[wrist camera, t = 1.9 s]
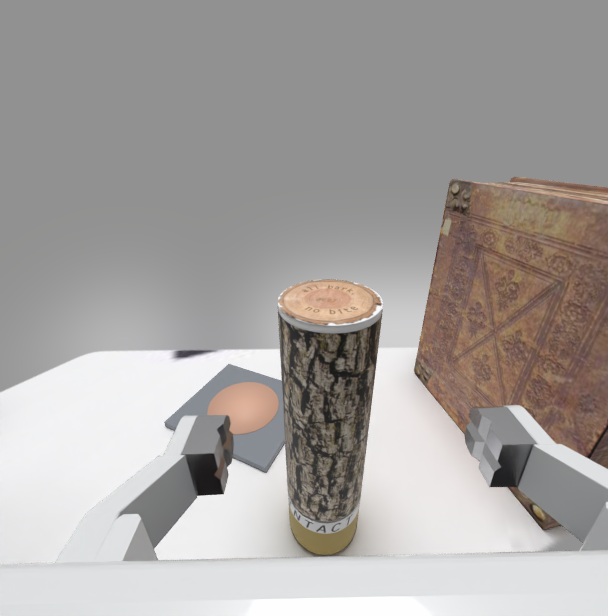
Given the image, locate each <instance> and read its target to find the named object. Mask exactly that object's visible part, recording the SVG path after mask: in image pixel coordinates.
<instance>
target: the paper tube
mask: <svg viewBox="0 0 608 616" xmlns="http://www.w3.org/2000/svg"><path fill="white" fill-rule="evenodd" d="M278 304H279V305H278V318H279V336H280V356H281V374H282V392H283V410H284V429H285V447H286V465H287V483H288V500H289V515H290V525H291V528H292V531H293V534H294V536H295V538H296V539H297V541H298V542H299V543H300V544H301V545H302V546H303V547H304V548H306V549H307V550H309V551H311V552H313V553H316V554H320V555H329V554H334V553H337V552H339V551H341V550H342V549H344V548H345V547H346V546H347V545H348V544H349V543H350V541H351V540H352V538H353V536H354V534H355V531H356V527H357V519H358V510H359V504H360V496H361V488H362V479H363V471H364V462H365V454H366V445H367V437H368V429H369V420H370V412H371V403H372V395H373V386H374V378H375V370H376V361H377V353H378V344H379V335H380V328H381V319H382V305H383V301H382V299H381V297H380V296H379V295H378V294H377V293H376V292H375V291H373V290H372V289H370V288H368V287H366V286H364V285H361V284H357V283H354V282H349V281H343V280H330V279H327V280H312V281H307V282H302V283H299V284H296V285H293V286H291V287H289V288H287V289H286V290H285V291H283V292H282V293H281V295H280V296H279V298H278Z"/></svg>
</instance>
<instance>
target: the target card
mask: <svg viewBox="0 0 608 616" xmlns="http://www.w3.org/2000/svg"><path fill="white" fill-rule="evenodd" d="M199 415H228V416H229V418H230V422H231V425H230V428H229V431H231V432H232V433H233V438H234V451H233V458H235V459H238V460H240V461H242V462H244V463H246V464H248V465H251V466H253V467H255V468H257V469H259V470H261V471H264V472H267V470H268V469H269V467H270V466H271V464H272V463H273V461H274V459H275V458H276V456H277V455H278V453H279V451H280V450H281V448H282V447H283V445H284V443H285V429H284V410H283V392H282V381H280V380H277V379H274V378H271V377H268V376H265V375H262V374H259V373H255V372H252V371H249V370H246V369H243V368H240V367H237V366H234V365H230V364H228V365H227V366H226V367H225V368H224V369H223V370H222V371H220V372H219V373H218V374H217V375H216V376H215V377H214V378H213V379H212V380H211V381H209V382H208V383H207V384H206V385H205V386H204V387H203V388H202V389H201V390H199V391H198V392H197V393H196V394H195V395H194V396H193V397H192V398H191V399H190V400H188V401H187V402H186V403H185V404H184V405H183V406H182V407H181V408H180V409H179V410H177V411H176V412H175V413H174V414H173V415H172V416H171V417H170V418H169V419H167V420H166V421H165V422H164V423H165V426H166V427H168V428H170V429H172V430H174V431H175V430H176V428H177V426H178V424H179V421H180V419H181V418H182V417H183V416H199Z"/></svg>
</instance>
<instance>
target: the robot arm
mask: <svg viewBox="0 0 608 616" xmlns="http://www.w3.org/2000/svg"><path fill="white" fill-rule="evenodd" d="M469 418H470V419H471V422H470V423H469V424H468V425H467V426H466V429H465V441H466V445H467V448H468V450H469V452H470V454H471V455H472V456H473V457H474V458H476V459H477V460H478V461H480V464H479V470H480V471H481V473H482V475H483V476H484V478H485V480H486V482H487V483H488V485H489V487H518V489H519V490H520V491H521V492H522V493H524V494H525V495H526V496H527V497H528V498H530V499H531V500H532V501H533V502H534V503H536V504H537V505H538V506H539V507H540V508H542V509H543V510H544V511H545V512H546V513H548V514H549V515H550V516H551V517H552V518H554V519H555V520H556V521H557V522H558V523H560V524H561V525H562V526H563V527H564V528H566V529H567V530H568V531H569V532H570V533H572V534H573V535H574V536H575V537H576V538H578V539H579V540H580V541H581V542H582V543H583V544H582V546H581V548H580V550H579V551H538V552H496V553H454V554H413V555H370V556H326V557H282V558H239V559H195V560H158V558H157V556H156V553H155V551H154V548H155V547H156V546H157V545H158V543H159V542H160V541H161V540H162V539H163V537H164V536H165V535H166V534H167V533H168V531H169V530H170V529H171V528H172V527H173V525H174V524H175V523H176V522H177V521H178V519H179V518H180V517H181V516H182V515H183V514H184V512H185V511H186V510H187V509H188V508H189V506H190V505H191V504H192V503H193V502H194V500H195V499H196V498H197V496H201V495H218V494H224V491H225V487H226V483H227V479H228V470H227V467H228V466H229V465H230V464H231V462H232V458H233V451H234V438H233V433H232V432H231V431H229V428H230V425H231V422H230V418H229V416H228V415H199V416H183V417H182V418H181V419H180V421H179V424H178V426H177V428H176V430H175V432H174V434H173V436H172V438H171V440H170V442H169V444H168V446H167V448H166V450H165V453H164V455H163V456H158V457H156V458H155V459H154V460H153V461H151V462H150V463H149V464H148V465H146V466H145V467H144V468H143V469H141V470H140V471H139V472H137V473H136V474H135V475H134V476H132V477H131V478H130V479H129V480H127V481H126V482H125V483H124V484H122V485H121V486H120V487H119V488H117V489H116V490H115V491H113V492H112V493H111V494H110V495H108V496H107V497H106V498H105V499H103V500H102V501H101V502H100V503H98V504H97V505H96V506H95V507H93V508H92V509H91V510H90V511H88V512H87V513H86V514H85V515H84V517H83V518H82V520H81V522H80V523H79V525H78V526H77V528H76V530H75V531H74V533H73V534H72V536H71V538H70V539H69V541H68V543H67V544H66V546H65V547H64V549H63V551H62V552H61V554H60V555H59V557H58V559H57V560H56V562H55V563H19V564H0V616H608V469H606V468H605V467H603V466H601V465H599V464H597V463H595V462H594V461H592V460H590V459H588V458H586V457H584V456H583V455H581V454H579V453H577V452H575V451H573V450H571V449H570V448H568V447H566V446H564V445H562V444H556V443H555V442H554V441H553V440H552V439H551V438H550V436H549V435H548V434H547V433H546V432H545V431H544V430H543V429H542V428H541V426H540V425H539V424H538V423H537V422H536V421H535V420H534V419H533V417H532V416H531V415H530V414H529V413H528V412H527V411H526V410H525V409H524V408H523V407H522V406H520V405H508V406H487V407H472V408H471V410H470V412H469Z"/></svg>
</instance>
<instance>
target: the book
mask: <svg viewBox="0 0 608 616" xmlns="http://www.w3.org/2000/svg"><path fill="white" fill-rule="evenodd" d="M414 372H415V374H416V376H417V377H418V378H419V379H420V380H421V382H422V383H423V384H424V385H425V387H426V388H427V389H428V390H429V391H430V393H431V394H432V395H433V396H434V397H435V399H436V400H437V401H438V402H439V404H440V405H441V406H442V407H443V408H444V410H445V411H446V412H447V413H448V415H449V416H450V417H451V418H452V419H453V421H454V422H455V423H456V424H457V425H458V427H459V428H460V429H461V430H462V432H463V433H464V434H465V429H466V426H467V425H468V424H469V423H470V422H471V419H470V418H469V412H470V410H471V408H472V407H487V406H508V405H520V406H522V407H523V408H524V409H525V410H526V411H527V412H528V413H529V414H530V415H531V416H532V417H533V419H534V420H535V421H536V422H537V423H538V424H539V425H540V426H541V428H542V429H543V430H544V431H545V432H546V433H547V434H548V435H549V436H550V438H551V439H552V440H553V441H554V442H555V443H556V444H562V445H564V446H566V447H568V448H570V449H571V450H573V451H575V452H577V453H579V454H581V455H583V456H584V457H586V458H588V459H590V460H592V461H594V462H595V463H597V464H599V465H601V466H603V467H605V468H606V469H608V188H607V187H598V186H590V185H582V184H572V183H564V182H556V181H547V180H539V179H529V178H521V177H514V178H512V179H511V180H510V182H503V183H478V182H471V181H464V180H458V179H452V180H451V181H450V185H449V189H448V195H447V200H446V205H445V211H444V216H443V221H442V226H441V232H440V237H439V242H438V247H437V253H436V258H435V263H434V268H433V274H432V279H431V284H430V289H429V295H428V300H427V305H426V311H425V316H424V321H423V327H422V332H421V337H420V342H419V347H418V353H417V358H416V363H415V368H414ZM508 488H509V489H510V490H511V491H512V492H513V494H514V495H515V496H516V497H517V499H518V500H519V501H520V502H521V503H522V505H523V506H524V507H525V508H526V509H527V511H528V512H529V513H530V514H531V516H532V517H533V518H534V519H535V520H536V522H537V523H538V524H539V525H540V527H541V528H542V529H547V528H551V527H554V526H558V525H561V524H560V523H558V522H557V521H556V520H555V519H554V518H552V517H551V516H550V515H549V514H548V513H546V512H545V511H544V510H543V509H542V508H540V507H539V506H538V505H537V504H536V503H534V502H533V501H532V500H531V499H530V498H528V497H527V496H526V495H525V494H524V493H522V492H521V491H520V490H519V489H518V487H508Z"/></svg>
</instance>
